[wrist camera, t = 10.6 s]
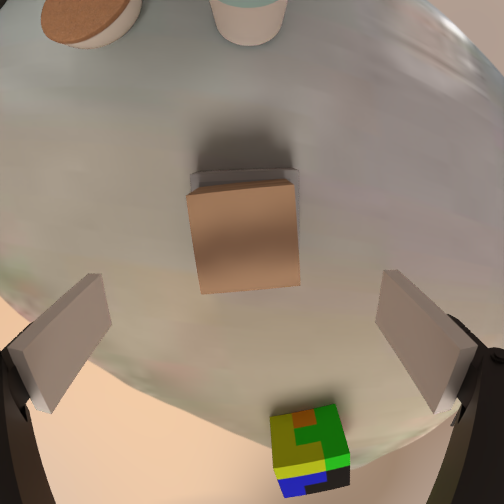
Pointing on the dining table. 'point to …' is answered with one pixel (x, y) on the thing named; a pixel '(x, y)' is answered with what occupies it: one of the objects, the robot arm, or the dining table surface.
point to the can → (248, 19)
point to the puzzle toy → (309, 451)
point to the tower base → (247, 179)
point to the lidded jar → (88, 21)
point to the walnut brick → (245, 236)
